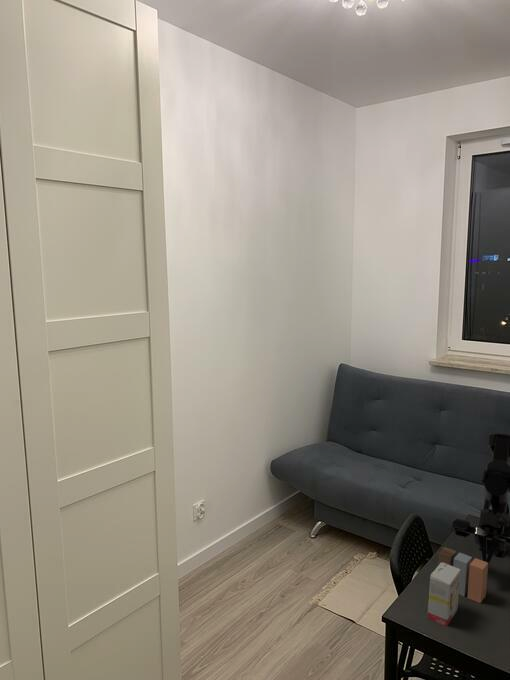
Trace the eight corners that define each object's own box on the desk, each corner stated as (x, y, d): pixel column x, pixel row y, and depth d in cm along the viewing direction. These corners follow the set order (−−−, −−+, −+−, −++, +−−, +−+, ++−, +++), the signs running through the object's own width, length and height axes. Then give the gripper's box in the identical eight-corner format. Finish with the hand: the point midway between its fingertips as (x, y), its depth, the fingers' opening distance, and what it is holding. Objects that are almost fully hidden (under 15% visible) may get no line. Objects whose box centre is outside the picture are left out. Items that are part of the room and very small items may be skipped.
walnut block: (442, 578, 138) (444, 547, 137) (454, 583, 136) (456, 551, 135) (436, 585, 135) (438, 552, 134) (448, 590, 133) (450, 557, 132)
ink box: (447, 631, 119) (450, 584, 118) (426, 622, 122) (428, 576, 121) (458, 613, 126) (461, 568, 125) (438, 605, 129) (441, 561, 128)
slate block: (457, 584, 136) (459, 552, 135) (469, 589, 134) (471, 556, 132) (451, 591, 133) (453, 558, 132) (464, 596, 131) (466, 563, 129)
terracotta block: (472, 590, 133) (475, 558, 132) (485, 595, 131) (488, 562, 130) (467, 597, 130) (469, 564, 129) (480, 603, 128) (483, 569, 127)
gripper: (455, 490, 141) (444, 545, 133) (533, 507, 131) (525, 568, 123) (459, 507, 148) (449, 560, 140) (532, 524, 138) (526, 582, 130)
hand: (485, 567), depth 133 cm, fingers closed
